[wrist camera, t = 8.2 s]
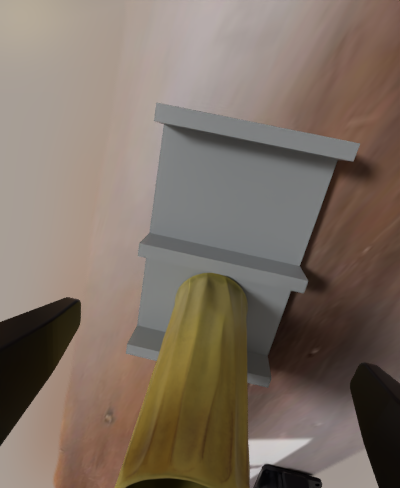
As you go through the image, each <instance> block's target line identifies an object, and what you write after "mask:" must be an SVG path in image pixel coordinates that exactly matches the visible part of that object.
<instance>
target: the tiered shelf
mask: <svg viewBox="0 0 400 488" xmlns="http://www.w3.org/2000/svg"><path fill="white" fill-rule="evenodd" d="M154 121H156V122H159V123H162V124H164V128H163V135H162V143H161V150H160V158H159V165H158V173H157V180H156V188H155V195H154V203H153V210H152V218H151V225H150V233H149V234H148V235H147V236H146V237H145V238H144V239H143V240H142V241H141V242H140V243H139V250H138V256H140V257H144V258H146V263H145V271H144V278H143V286H142V293H141V301H140V308H139V316H138V323H137V327H136V328H135V330H134V332H133V334H132V336H131V338H130V340H129V342H128V343H127V350H126V354H130V355H134V356H138V357H143V358H147V359H151V360H155V361H157V359H158V356H159V352H160V349H161V345H162V342H163V338H164V336H165V333H166V330H167V327H168V324H169V321H170V318H171V315H172V311H173V308H174V305H175V297H176V294H177V291H178V289H179V287H180V286H181V285H182V284H183V283H184V282H185V281H186V280H187V279H189V278H191V277H192V276H195V275H198V274H202V273H215V274H220V275H224V276H226V277H229V278H230V279H232V280H233V281H235V282H236V283H237V284H238V285H239V286H240V287H241V288H242V290H243V291H244V293H245V295H246V298H247V303H248V311H247V316H246V323H247V383H251V384H255V385H259V386H263V387H267V388H268V386H269V384H270V381H271V373H270V367H269V361H268V354H269V351H270V348H271V345H272V342H273V340H274V337H275V334H276V331H277V328H278V326H279V323H280V320H281V317H282V314H283V312H284V309H285V306H286V303H287V300H288V298H289V295H290V292H291V291H295V292H300V293H304V291H305V288H306V286H307V283H308V280H307V278H306V276H305V274H304V273H303V271H302V269H301V267H300V264H301V261H302V258H303V256H304V253H305V250H306V247H307V244H308V242H309V239H310V236H311V233H312V230H313V228H314V225H315V222H316V219H317V216H318V214H319V211H320V208H321V205H322V202H323V200H324V197H325V194H326V191H327V188H328V186H329V183H330V180H331V177H332V175H333V172H334V169H335V166H336V163H337V161H338V160H344V161H352V162H353V161H354V159H355V156H356V153H357V151H358V148H359V146H360V144H359V143H354V142H350V141H345V140H340V139H335V138H330V137H325V136H320V135H315V134H310V133H305V132H300V131H295V130H290V129H285V128H280V127H275V126H270V125H265V124H260V123H255V122H250V121H245V120H240V119H236V118H231V117H226V116H221V115H216V114H211V113H206V112H201V111H196V110H191V109H186V108H181V107H176V106H171V105H166V104H161V103H156V110H155V118H154Z"/></svg>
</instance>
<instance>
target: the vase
mask: <svg viewBox="0 0 400 488" xmlns="http://www.w3.org/2000/svg"><path fill="white" fill-rule="evenodd" d="M247 311H248V303H247V298H246V295H245V293H244V291H243V290H242V288H241V287H240V286H239V285H238V284H237V283H236V282H235V281H233V280H232V279H230V278H229V277H226V276H224V275H220V274H215V273H202V274H198V275H195V276H192V277H191V278H189V279H187V280H186V281H185V282H184V283H183V284H182V285H181V286H180V287H179V289H178V291H177V294H176V297H175V305H174V308H173V311H172V315H171V318H170V321H169V324H168V327H167V330H166V333H165V336H164V338H163V342H162V345H161V349H160V352H159V356H158V359H157V362H156V365H155V368H154V370H153V373H152V376H151V380H150V383H149V386H148V390H147V393H146V396H145V399H144V402H143V404H142V407H141V410H140V413H139V416H138V419H137V422H136V425H135V428H134V431H133V434H132V437H131V440H130V443H129V446H128V449H127V452H126V455H125V458H124V461H123V464H122V467H121V470H120V473H119V476H118V480H117V482H116V485H115V488H250V484H249V480H250V468H249V447H248V391H247V323H246V316H247Z"/></svg>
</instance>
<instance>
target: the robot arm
mask: <svg viewBox="0 0 400 488" xmlns="http://www.w3.org/2000/svg"><path fill="white" fill-rule="evenodd" d="M80 320H81V302H80V300H78V299H74V298H70V297H66V298H63V299H61V300H58V301H55V302H53V303H50V304H47V305H45V306H42V307H39V308H37V309H34V310H31V311H29V312H26V313H23V314H21V315H18V316H15V317H13V318H10V319H7V320H4V321H2V322H0V446H1V444H2V443H3V442H4V440H5V439H6V437H7V436H8V435H9V433H10V432H11V430H12V429H13V427H14V426H15V425H16V423H17V422H18V421H19V419H20V418H21V416H22V415H23V413H24V412H25V411H26V409H27V408H28V406H29V405H30V404H31V402H32V401H33V400H34V398H35V397H36V395H37V394H38V392H39V391H40V390H41V388H42V387H43V386H44V384H45V383H46V381H47V380H48V379H49V377H50V376H51V374H52V373H53V371H54V370H55V368H56V366H57V365H58V363H59V361H60V359H61V357H62V356H63V354H64V352H65V351H66V349H67V347H68V345H69V343H70V342H71V340H72V338H73V336H74V335H75V333H76V331H77V329H78V328H79V325H80ZM350 390H351V394H352V398H353V402H354V406H355V410H356V415H357V419H358V423H359V427H360V431H361V435H362V438H363V442H364V445H365V448H366V451H367V454H368V457H369V460H370V463H371V466H372V469H373V472H374V474H375V478H376V481H377V483H378V486H379V488H400V383H398V382H397V381H396V380H395V379H393V378H392V377H391V376H390V375H388V374H387V373H386V372H385V371H383V370H382V369H381V368H380V367H378V366H377V365H374V364H369V363H361V364H360V365H359V366H358V368H357V370H356V372H355V374H354V376H353V378H352V380H351V383H350ZM321 487H322V482H321V480H320V479H319V478H316V477H312V476H308V475H304V474H300V473H296V472H292V471H288V470H284V469H280V468H276V467H272V466H268V465H264V466H263V467H262V469H261V471H260V473H259V476H258V478H257V480H256V483H255V485H254V487H253V488H321Z"/></svg>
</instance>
